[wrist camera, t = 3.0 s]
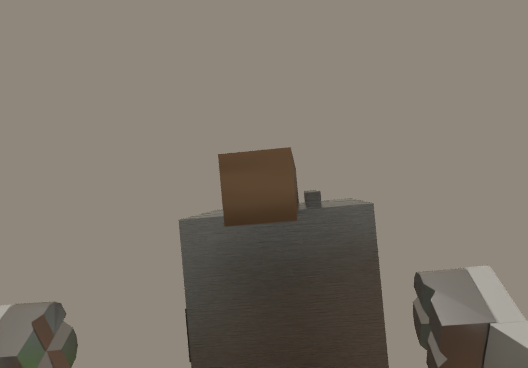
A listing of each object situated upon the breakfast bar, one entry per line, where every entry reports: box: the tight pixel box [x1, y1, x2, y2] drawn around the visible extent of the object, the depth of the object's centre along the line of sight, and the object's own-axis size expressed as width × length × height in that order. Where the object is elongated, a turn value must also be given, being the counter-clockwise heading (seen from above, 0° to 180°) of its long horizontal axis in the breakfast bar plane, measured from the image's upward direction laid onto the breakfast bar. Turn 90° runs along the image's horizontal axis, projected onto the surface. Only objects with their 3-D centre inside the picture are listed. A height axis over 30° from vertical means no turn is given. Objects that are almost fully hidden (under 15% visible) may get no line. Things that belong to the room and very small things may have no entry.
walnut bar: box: [218, 148, 299, 227], centre depth 28 cm, size 20×3×3 cm, turn 175°
